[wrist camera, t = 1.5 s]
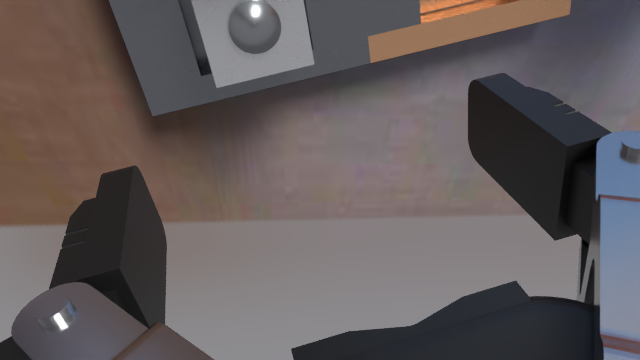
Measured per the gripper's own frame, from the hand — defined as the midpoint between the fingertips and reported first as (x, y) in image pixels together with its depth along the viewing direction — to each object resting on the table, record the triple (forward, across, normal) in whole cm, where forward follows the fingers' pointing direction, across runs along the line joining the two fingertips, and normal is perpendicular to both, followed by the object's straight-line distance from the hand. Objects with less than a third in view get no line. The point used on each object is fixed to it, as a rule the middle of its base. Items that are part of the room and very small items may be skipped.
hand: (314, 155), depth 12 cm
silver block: (+17, 0, 0) cm, 17 cm away
